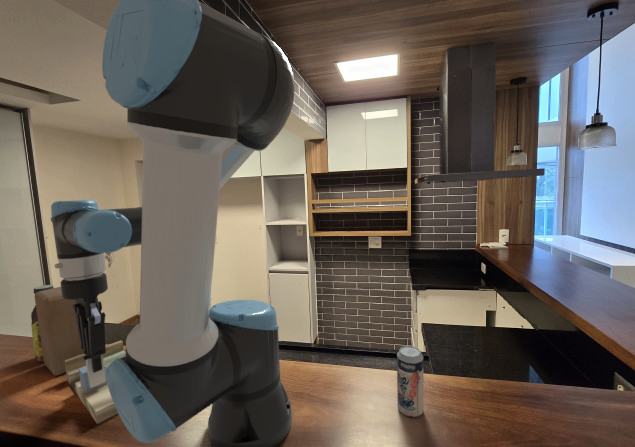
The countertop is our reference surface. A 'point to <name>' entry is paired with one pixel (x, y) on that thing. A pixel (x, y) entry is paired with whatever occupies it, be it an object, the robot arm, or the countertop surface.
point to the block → (57, 329)
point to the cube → (85, 382)
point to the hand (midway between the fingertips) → (97, 383)
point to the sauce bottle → (37, 327)
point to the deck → (99, 398)
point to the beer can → (410, 381)
